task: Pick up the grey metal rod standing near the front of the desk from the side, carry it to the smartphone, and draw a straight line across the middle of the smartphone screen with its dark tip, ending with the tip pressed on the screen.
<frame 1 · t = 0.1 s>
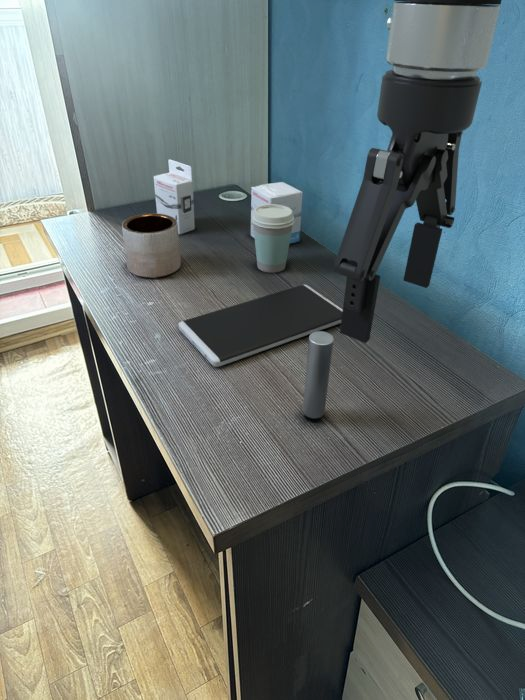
hand: (387, 307, 52), 22 cm above the table, tool pointing down, fingers open, 13 cm apart
ink box: (176, 228, 124), on the table
ink box 2: (274, 239, 120), on the table
grey metal rod: (312, 416, 71), on the table
planter: (154, 268, 106), on the table
coffee cup: (271, 267, 108), on the table
smartphone: (265, 326, 89), on the table
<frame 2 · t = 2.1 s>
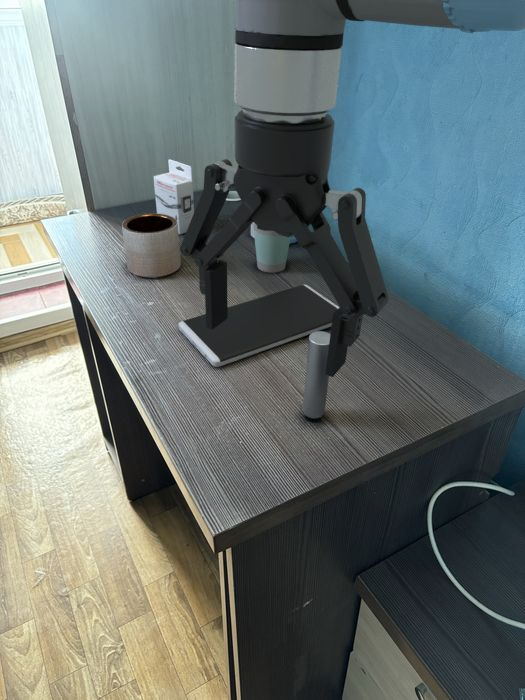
hand: (272, 344, 51), 19 cm above the table, tool pointing down, fingers open, 13 cm apart
nothing on the table moved.
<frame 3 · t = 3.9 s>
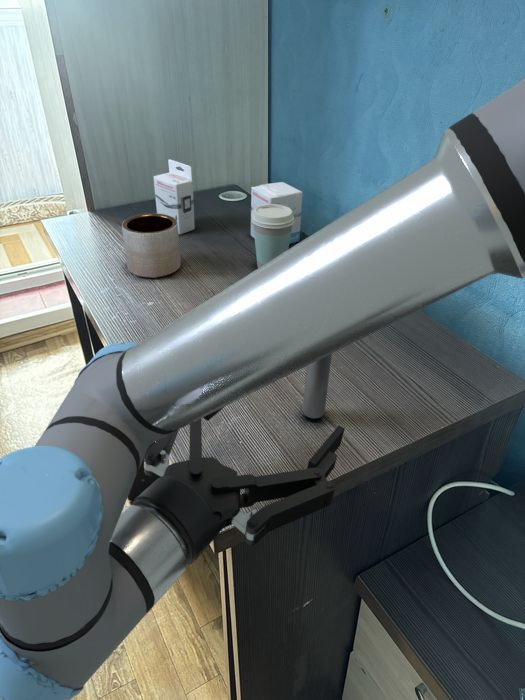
hand: (287, 407, 60), 8 cm above the table, tool horizontal, fingers open, 13 cm apart
nothing on the table moved.
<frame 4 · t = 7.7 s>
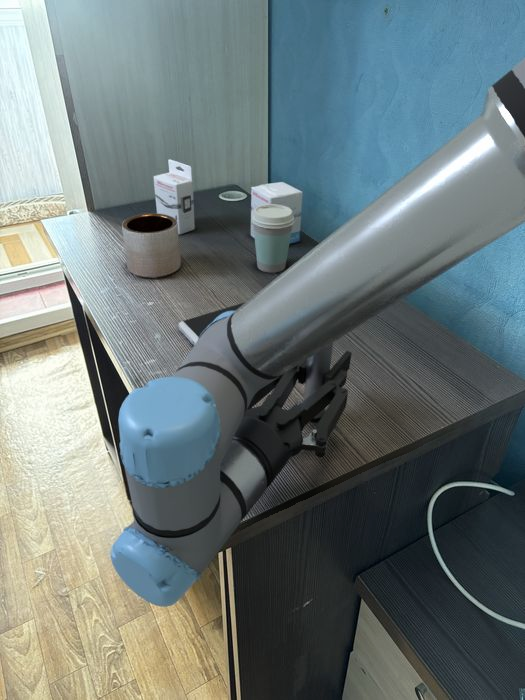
hand: (335, 355, 71), 7 cm above the table, tool horizontal, fingers closed on grey metal rod, 3 cm apart
grey metal rod: (313, 416, 71), on the table, touching gripper
everything else where it was.
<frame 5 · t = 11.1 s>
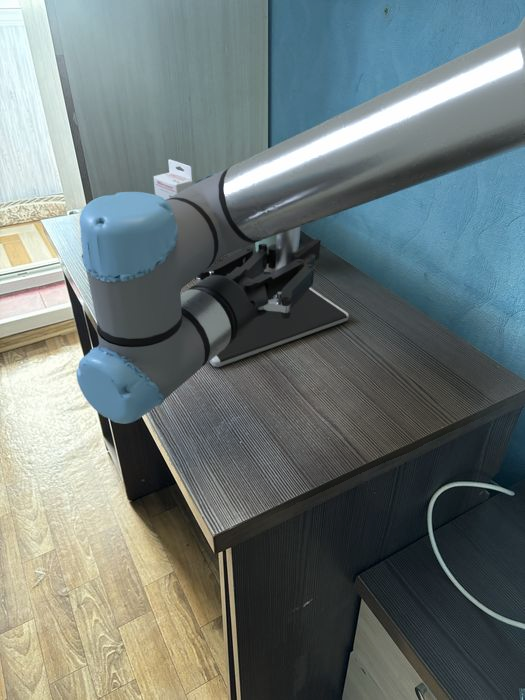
hand: (305, 245, 73), 18 cm above the table, tool horizontal, fingers closed on grey metal rod, 3 cm apart
grey metal rod: (284, 305, 73), point 11 cm above the table, touching gripper
everything else where it was.
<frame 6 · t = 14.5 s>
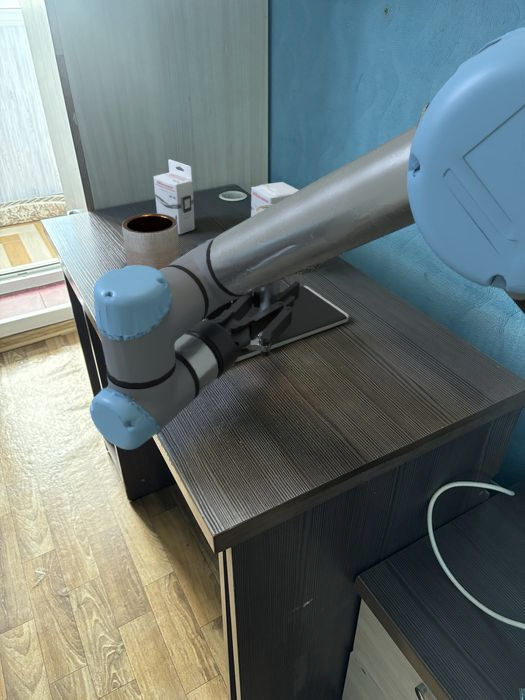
hand: (286, 286, 83), 8 cm above the table, tool horizontal, fingers closed on grey metal rod, 3 cm apart
grey metal rod: (268, 337, 83), point 2 cm above the table, touching gripper, smartphone
smartphone: (265, 327, 89), on the table, touching grey metal rod
everything else where it was.
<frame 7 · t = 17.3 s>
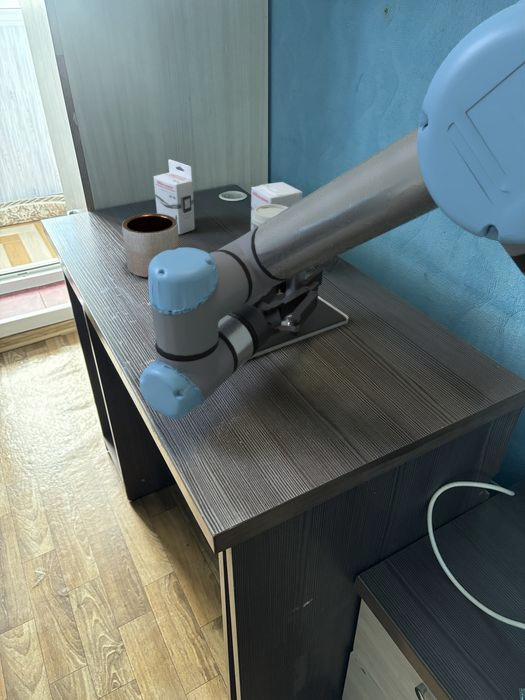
hand: (310, 273, 88), 8 cm above the table, tool horizontal, fingers closed on grey metal rod, 3 cm apart
grey metal rod: (292, 321, 88), point 1 cm above the table, touching gripper
smartphone: (265, 329, 90), on the table
everything else where it was.
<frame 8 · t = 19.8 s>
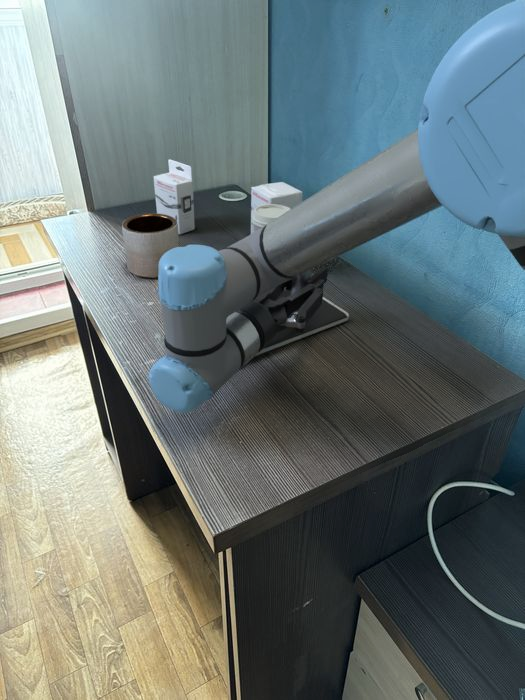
hand: (315, 271, 89), 8 cm above the table, tool horizontal, fingers closed on grey metal rod, 3 cm apart
grey metal rod: (298, 316, 89), point 2 cm above the table, touching gripper, smartphone
smartphone: (265, 327, 89), on the table, touching grey metal rod
everything else where it was.
at the end: grey metal rod touching gripper, smartphone; grey metal rod 0.4 cm from the target spot on the smartphone, point 1.9 cm above the smartphone's base; smartphone moved 0.4 cm from its start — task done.
